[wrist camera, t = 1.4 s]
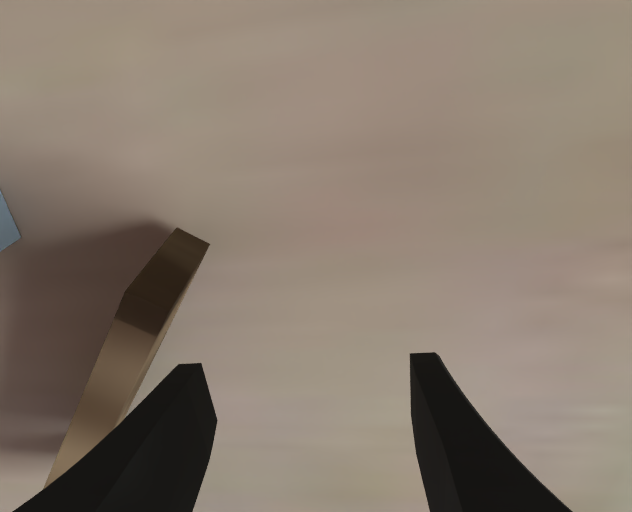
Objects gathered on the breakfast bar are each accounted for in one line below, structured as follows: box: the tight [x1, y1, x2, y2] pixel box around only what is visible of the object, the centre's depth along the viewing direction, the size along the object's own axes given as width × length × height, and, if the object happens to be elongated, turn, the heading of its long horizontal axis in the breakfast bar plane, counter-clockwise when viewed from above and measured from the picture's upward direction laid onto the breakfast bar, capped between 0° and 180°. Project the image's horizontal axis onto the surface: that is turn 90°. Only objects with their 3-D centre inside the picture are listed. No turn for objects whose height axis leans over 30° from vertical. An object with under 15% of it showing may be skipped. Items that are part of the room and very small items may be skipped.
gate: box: [44, 228, 210, 489], centre depth 20 cm, size 14×2×5 cm, turn 151°
